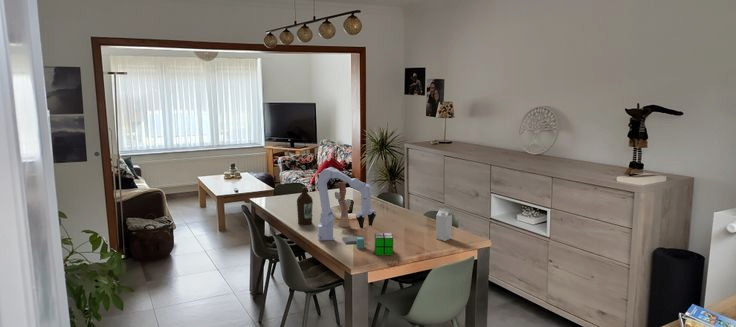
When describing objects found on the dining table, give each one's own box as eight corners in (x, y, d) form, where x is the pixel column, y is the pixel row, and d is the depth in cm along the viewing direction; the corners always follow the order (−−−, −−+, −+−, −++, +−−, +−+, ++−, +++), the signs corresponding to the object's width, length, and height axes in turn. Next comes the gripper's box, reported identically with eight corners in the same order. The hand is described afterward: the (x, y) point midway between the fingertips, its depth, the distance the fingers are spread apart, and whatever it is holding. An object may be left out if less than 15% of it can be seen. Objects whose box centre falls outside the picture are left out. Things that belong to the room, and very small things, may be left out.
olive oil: (294, 223, 358) (293, 187, 354) (306, 220, 365) (306, 185, 361) (303, 226, 350) (302, 189, 346) (316, 223, 357) (315, 187, 354)
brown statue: (350, 224, 356) (350, 180, 351) (350, 227, 349) (350, 182, 344) (335, 224, 356) (335, 180, 351) (334, 227, 348) (334, 182, 344)
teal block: (357, 248, 305) (357, 239, 304) (356, 246, 309) (356, 237, 308) (364, 248, 305) (364, 239, 304) (363, 246, 309) (363, 237, 308)
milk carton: (441, 236, 329) (442, 206, 326) (451, 238, 324) (452, 208, 321) (435, 238, 323) (436, 208, 320) (445, 241, 319) (446, 210, 316)
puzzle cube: (391, 249, 303) (391, 232, 301) (393, 255, 293) (393, 238, 291) (374, 249, 303) (374, 233, 301) (375, 255, 293) (375, 238, 291)
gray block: (346, 244, 313) (346, 241, 312) (342, 240, 321) (342, 237, 321) (360, 243, 315) (360, 240, 315) (356, 239, 324) (356, 236, 323)
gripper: (362, 207, 304) (362, 230, 306) (379, 203, 315) (379, 225, 317) (353, 205, 309) (353, 228, 311) (370, 201, 319) (370, 223, 322)
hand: (365, 226), depth 314 cm, fingers open, 7 cm apart
